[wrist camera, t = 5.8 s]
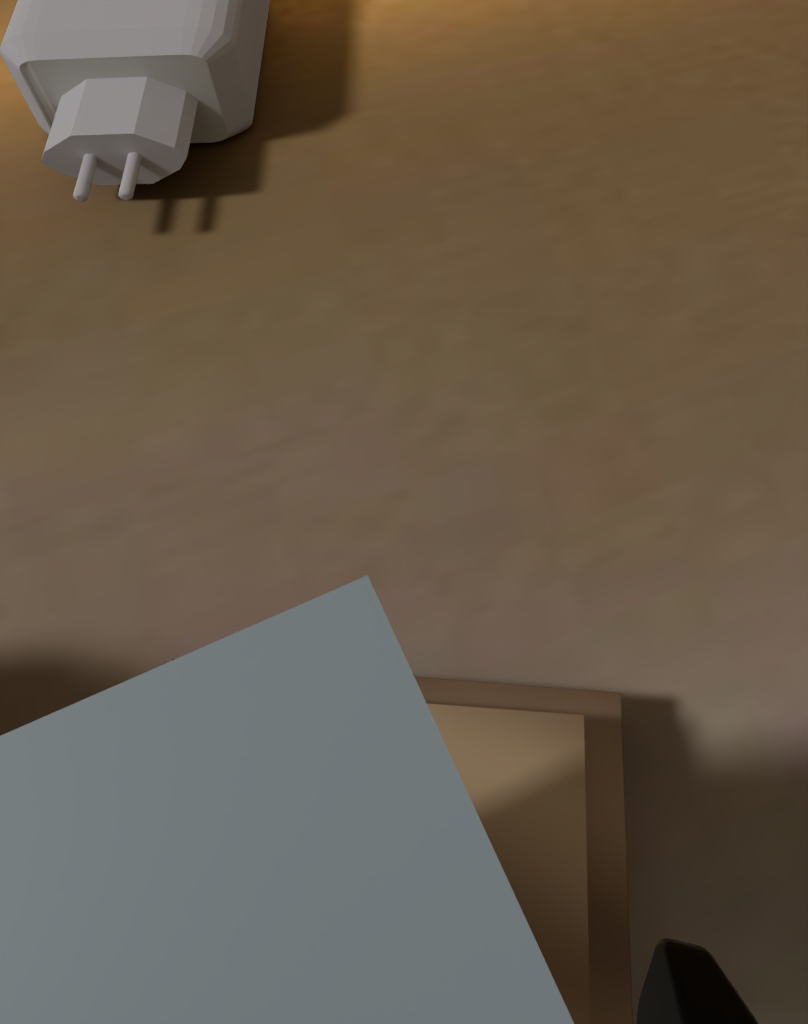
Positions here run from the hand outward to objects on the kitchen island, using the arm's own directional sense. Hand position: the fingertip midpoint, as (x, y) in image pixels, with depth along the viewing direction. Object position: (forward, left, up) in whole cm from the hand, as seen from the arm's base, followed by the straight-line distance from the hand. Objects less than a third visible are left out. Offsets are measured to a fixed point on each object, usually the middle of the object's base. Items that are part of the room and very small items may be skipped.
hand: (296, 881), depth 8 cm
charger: (+29, +13, -14) cm, 35 cm away
